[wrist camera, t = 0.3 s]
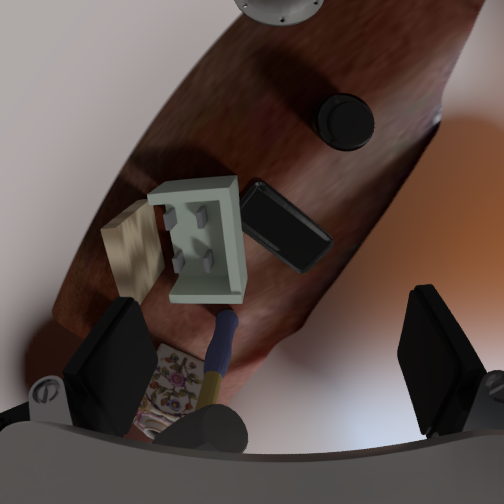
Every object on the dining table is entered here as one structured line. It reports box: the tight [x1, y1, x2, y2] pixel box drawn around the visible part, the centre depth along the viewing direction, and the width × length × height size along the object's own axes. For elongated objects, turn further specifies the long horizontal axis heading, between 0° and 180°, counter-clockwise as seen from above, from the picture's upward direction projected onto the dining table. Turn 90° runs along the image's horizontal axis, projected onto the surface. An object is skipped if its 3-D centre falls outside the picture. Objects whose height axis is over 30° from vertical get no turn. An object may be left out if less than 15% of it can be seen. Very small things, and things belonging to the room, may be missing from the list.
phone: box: [239, 181, 334, 274], centre depth 47 cm, size 8×1×15 cm
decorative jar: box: [133, 343, 204, 439], centre depth 55 cm, size 12×12×18 cm
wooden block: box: [101, 199, 165, 305], centre depth 44 cm, size 12×3×12 cm, turn 5°
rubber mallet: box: [152, 309, 248, 453], centre depth 42 cm, size 12×8×30 cm, turn 140°
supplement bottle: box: [310, 93, 375, 152], centre depth 34 cm, size 7×7×12 cm
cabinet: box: [147, 175, 247, 304], centre depth 45 cm, size 17×11×7 cm, turn 5°
